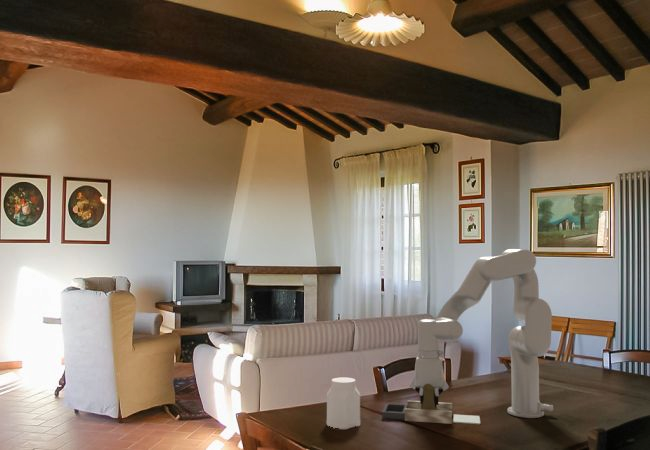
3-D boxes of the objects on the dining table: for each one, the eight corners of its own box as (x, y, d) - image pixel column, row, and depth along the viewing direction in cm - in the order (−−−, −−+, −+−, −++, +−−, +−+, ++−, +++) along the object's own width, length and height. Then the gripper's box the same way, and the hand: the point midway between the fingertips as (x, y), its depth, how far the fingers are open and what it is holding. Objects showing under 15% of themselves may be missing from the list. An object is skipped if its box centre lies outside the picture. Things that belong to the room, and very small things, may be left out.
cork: (437, 415, 204) (437, 383, 204) (420, 414, 205) (419, 382, 205) (437, 410, 210) (437, 379, 210) (420, 409, 211) (420, 378, 211)
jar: (339, 430, 191) (339, 384, 192) (321, 424, 199) (321, 379, 199) (365, 424, 199) (365, 379, 199) (346, 418, 206) (346, 375, 207)
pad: (479, 417, 208) (479, 415, 208) (480, 424, 199) (480, 423, 199) (453, 415, 210) (453, 414, 210) (453, 422, 201) (453, 421, 201)
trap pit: (407, 411, 215) (407, 404, 215) (404, 420, 203) (404, 413, 203) (386, 410, 217) (386, 403, 217) (381, 419, 205) (381, 411, 205)
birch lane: (452, 414, 211) (452, 403, 211) (451, 423, 199) (451, 411, 200) (407, 411, 215) (407, 400, 215) (404, 420, 203) (404, 409, 203)
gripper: (452, 353, 210) (453, 405, 209) (406, 351, 214) (406, 402, 213) (452, 357, 203) (453, 410, 202) (404, 355, 206) (405, 407, 206)
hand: (429, 405), depth 207 cm, fingers closed on cork, 3 cm apart
